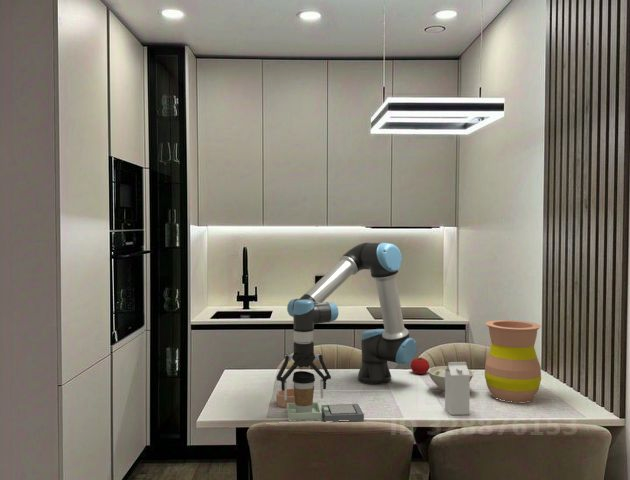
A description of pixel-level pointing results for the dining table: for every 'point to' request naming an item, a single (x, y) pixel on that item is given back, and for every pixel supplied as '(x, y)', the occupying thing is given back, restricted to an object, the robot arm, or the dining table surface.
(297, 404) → the coffee cup
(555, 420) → the dining table surface
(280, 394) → the bin
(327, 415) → the frame
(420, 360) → the tomato
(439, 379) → the bowl
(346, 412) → the plate
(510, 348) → the vase
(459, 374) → the milk carton
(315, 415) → the green square tray
